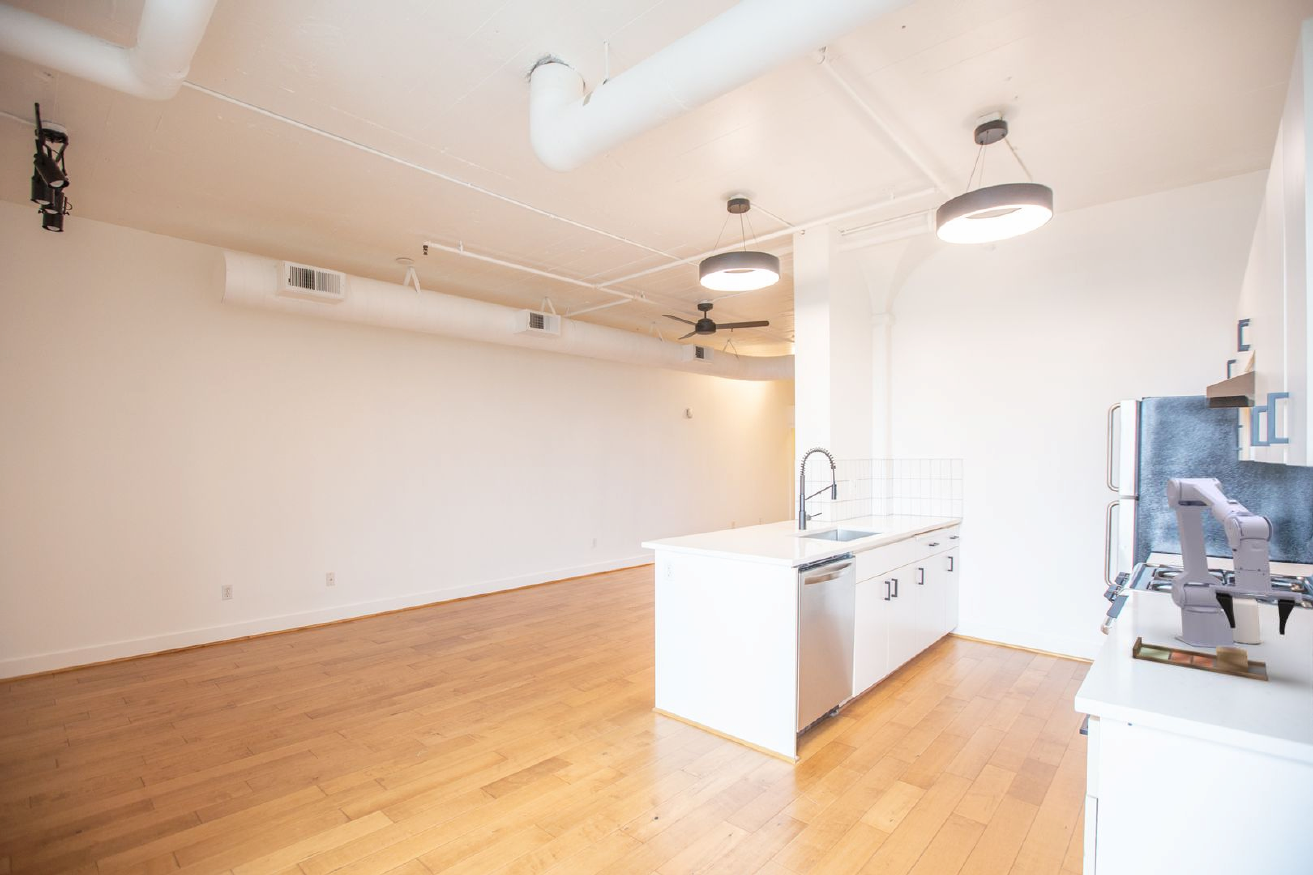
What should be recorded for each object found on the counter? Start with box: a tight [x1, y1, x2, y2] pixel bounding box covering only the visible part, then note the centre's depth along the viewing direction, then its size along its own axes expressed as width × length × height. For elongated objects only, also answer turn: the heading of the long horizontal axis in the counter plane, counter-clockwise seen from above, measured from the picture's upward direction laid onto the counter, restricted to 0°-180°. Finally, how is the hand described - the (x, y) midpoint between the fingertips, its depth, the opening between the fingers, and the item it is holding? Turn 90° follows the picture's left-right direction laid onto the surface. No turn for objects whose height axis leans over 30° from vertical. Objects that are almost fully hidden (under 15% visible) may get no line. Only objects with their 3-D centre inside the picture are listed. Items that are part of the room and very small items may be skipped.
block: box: [1216, 646, 1248, 673], centre depth 134 cm, size 5×5×4 cm
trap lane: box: [1132, 636, 1269, 682], centre depth 139 cm, size 23×13×2 cm, turn 45°
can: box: [1233, 596, 1261, 645], centre depth 154 cm, size 6×6×12 cm
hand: (1257, 630), depth 129 cm, fingers open, 7 cm apart
